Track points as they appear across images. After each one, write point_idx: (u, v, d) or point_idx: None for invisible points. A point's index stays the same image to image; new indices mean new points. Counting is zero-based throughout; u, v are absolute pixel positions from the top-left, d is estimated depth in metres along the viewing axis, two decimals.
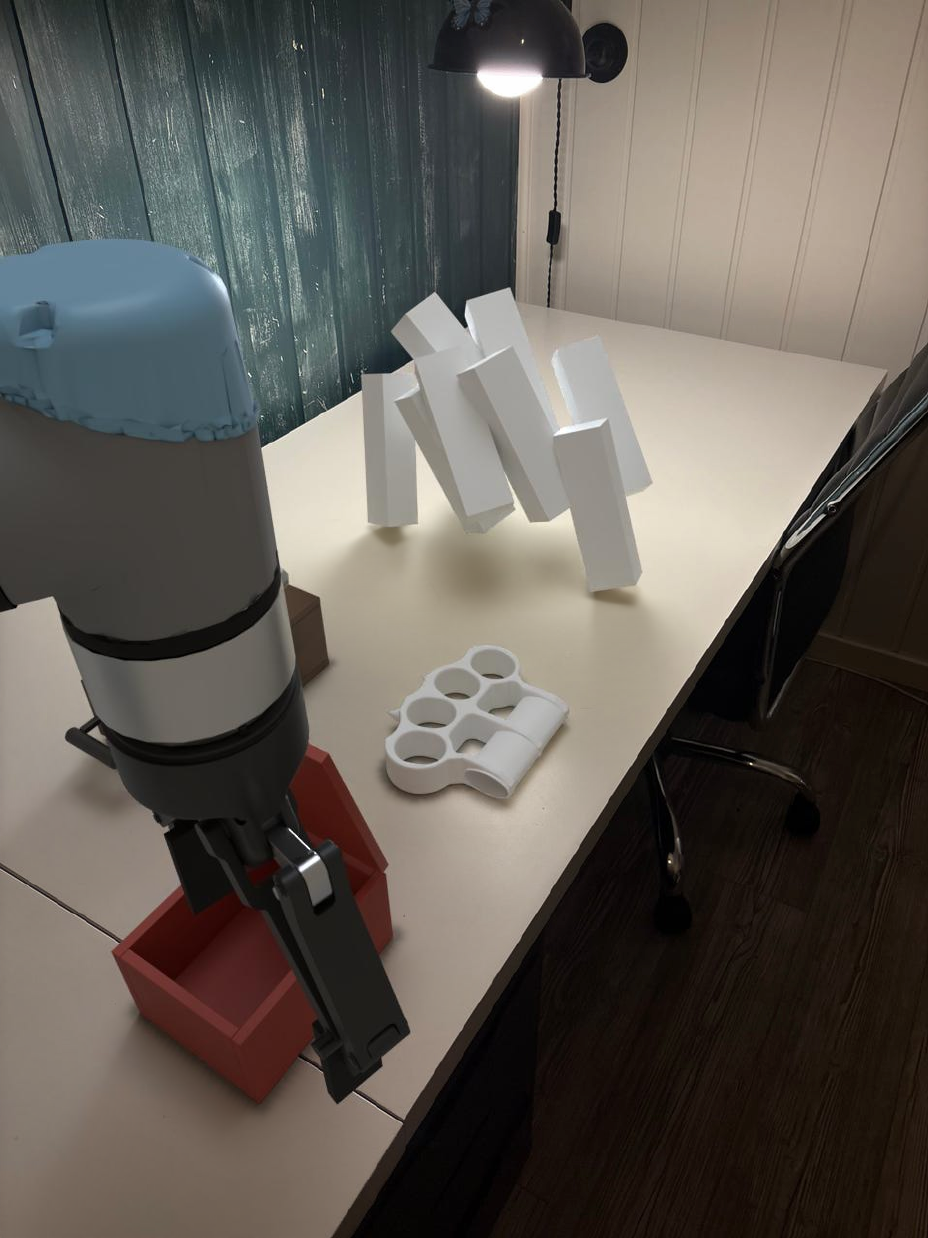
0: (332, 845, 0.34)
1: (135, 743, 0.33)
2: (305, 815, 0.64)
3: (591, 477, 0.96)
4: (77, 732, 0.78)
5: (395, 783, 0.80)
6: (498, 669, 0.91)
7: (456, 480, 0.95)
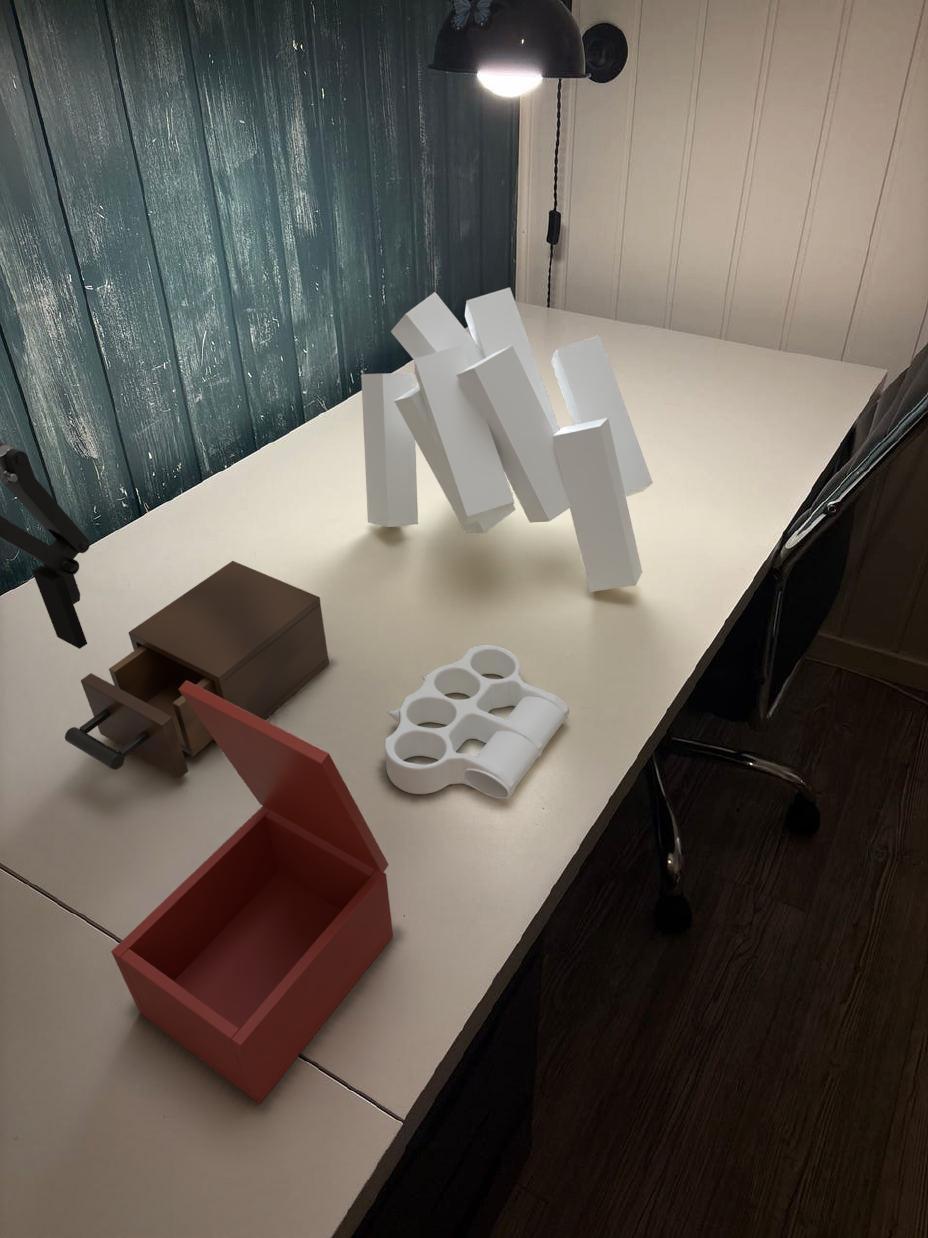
0: None
1: None
2: (305, 815, 0.64)
3: (591, 477, 0.96)
4: (77, 732, 0.78)
5: (395, 783, 0.80)
6: (498, 669, 0.91)
7: (456, 480, 0.95)
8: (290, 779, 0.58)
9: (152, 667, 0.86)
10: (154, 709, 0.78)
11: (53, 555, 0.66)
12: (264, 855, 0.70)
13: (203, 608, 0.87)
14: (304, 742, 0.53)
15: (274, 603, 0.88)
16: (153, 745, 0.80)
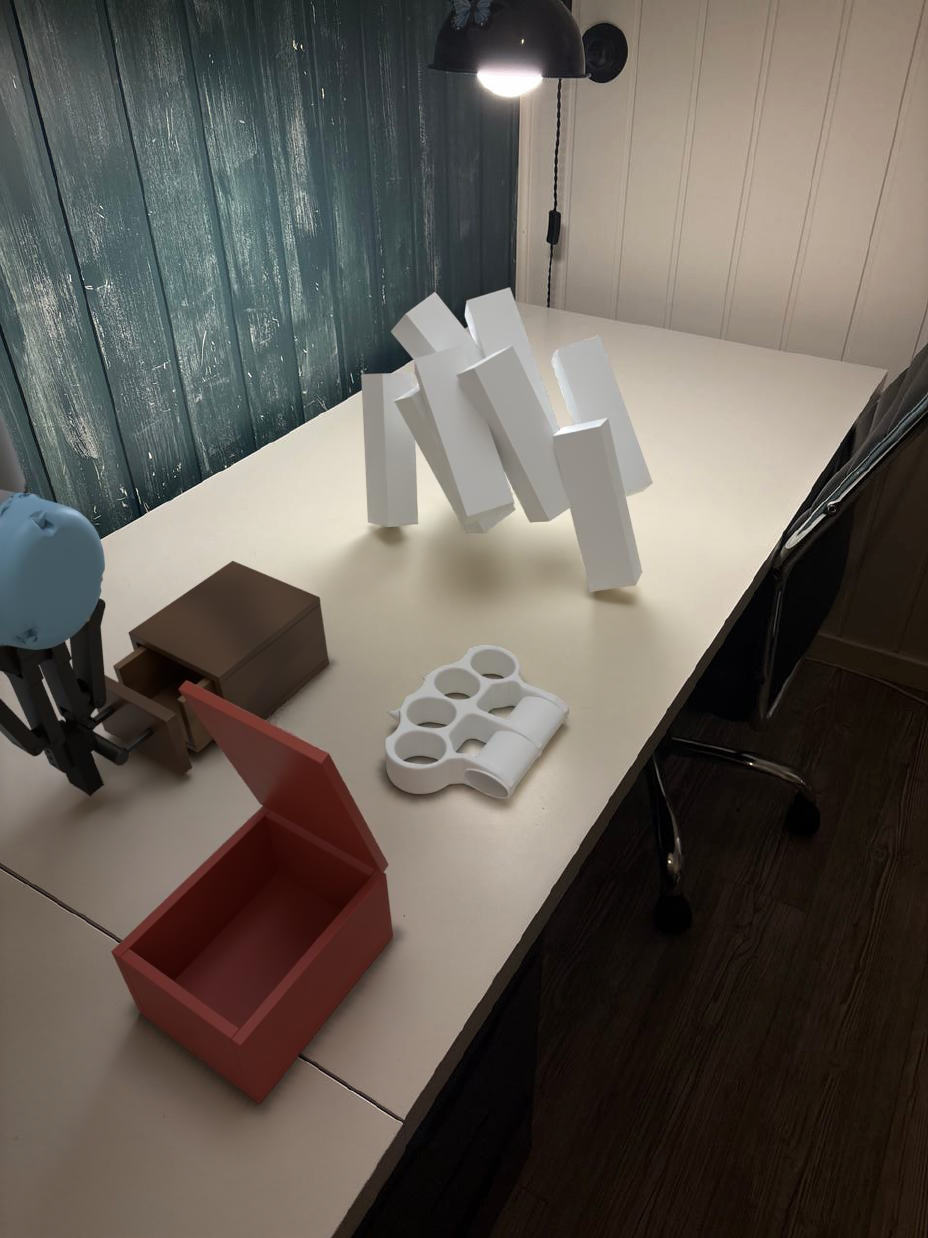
0: None
1: None
2: (305, 815, 0.64)
3: (591, 477, 0.96)
4: None
5: (395, 783, 0.80)
6: (498, 668, 0.91)
7: (456, 480, 0.95)
8: (290, 779, 0.58)
9: (156, 664, 0.86)
10: (158, 706, 0.78)
11: (81, 708, 0.74)
12: (264, 855, 0.70)
13: (203, 608, 0.87)
14: (304, 742, 0.53)
15: (274, 603, 0.88)
16: (157, 742, 0.80)
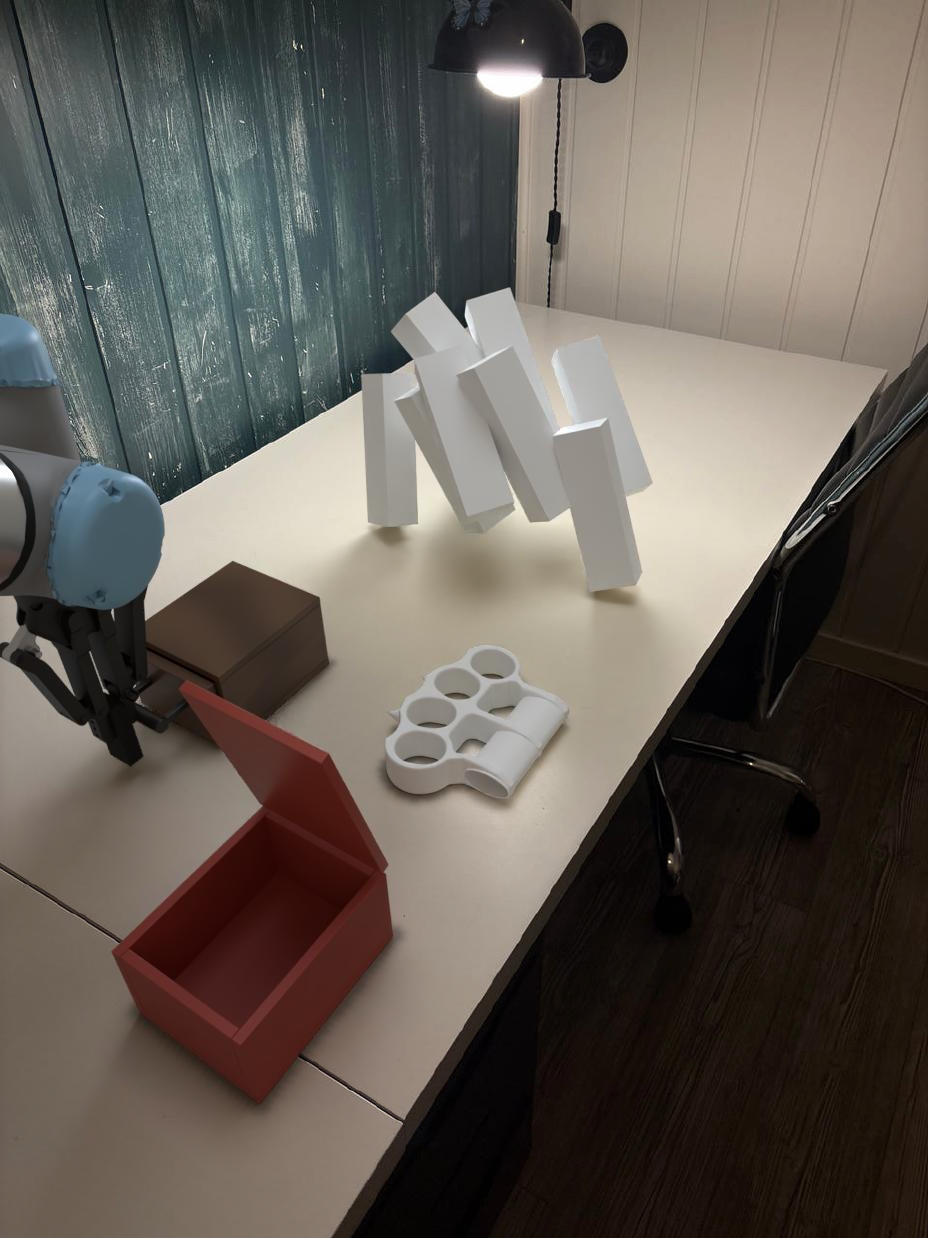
0: (15, 659, 0.67)
1: None
2: (305, 815, 0.64)
3: (591, 477, 0.96)
4: None
5: (395, 783, 0.80)
6: (498, 669, 0.91)
7: (456, 480, 0.95)
8: (290, 779, 0.58)
9: None
10: (197, 676, 0.81)
11: (124, 680, 0.77)
12: (264, 855, 0.70)
13: (203, 608, 0.87)
14: (304, 742, 0.53)
15: (274, 603, 0.88)
16: None
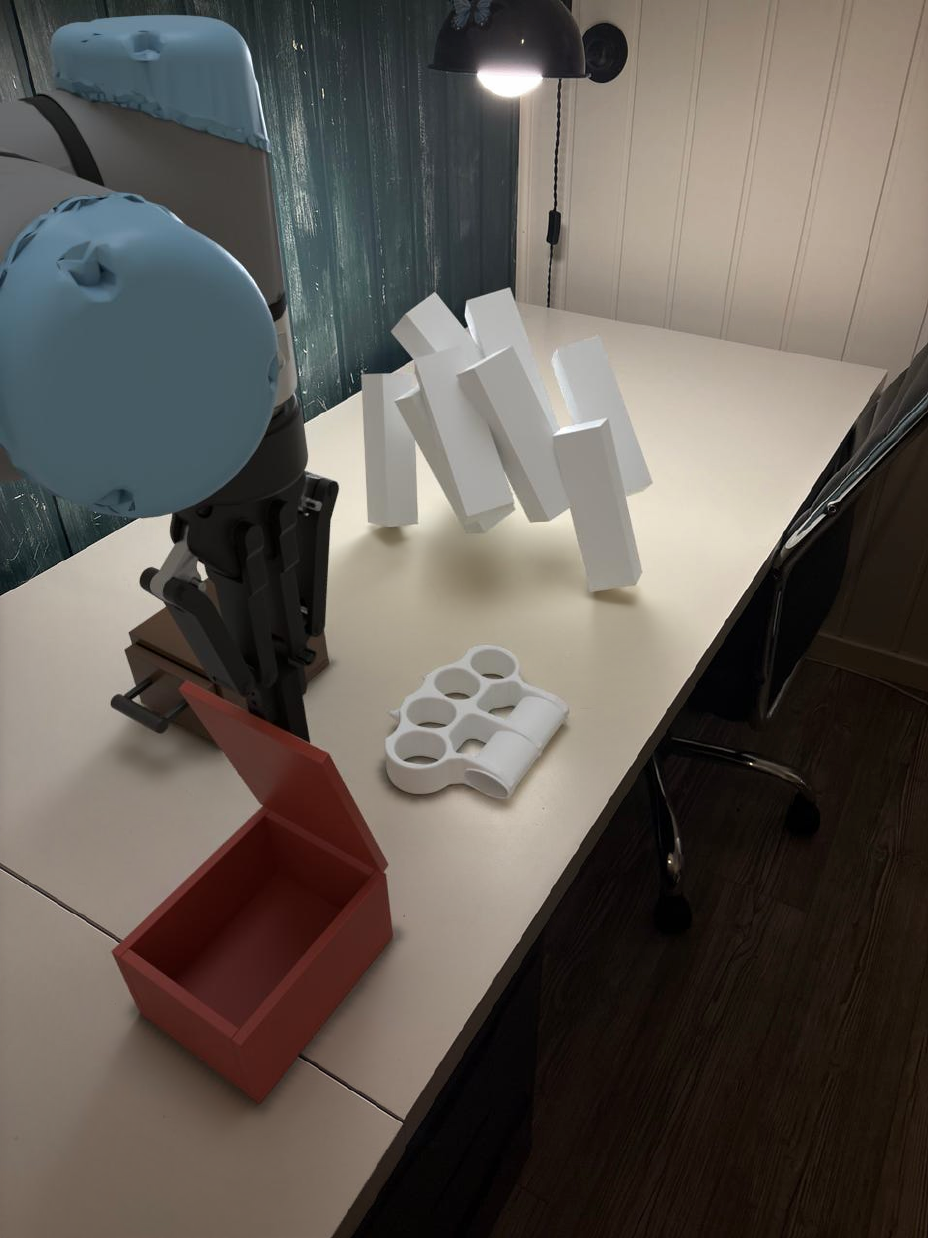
0: (173, 590, 0.44)
1: None
2: (305, 815, 0.64)
3: (591, 477, 0.96)
4: (122, 698, 0.82)
5: (395, 783, 0.80)
6: (498, 669, 0.91)
7: (456, 480, 0.95)
8: (290, 779, 0.58)
9: None
10: (197, 676, 0.81)
11: (298, 634, 0.54)
12: (264, 855, 0.70)
13: None
14: (304, 742, 0.53)
15: None
16: None
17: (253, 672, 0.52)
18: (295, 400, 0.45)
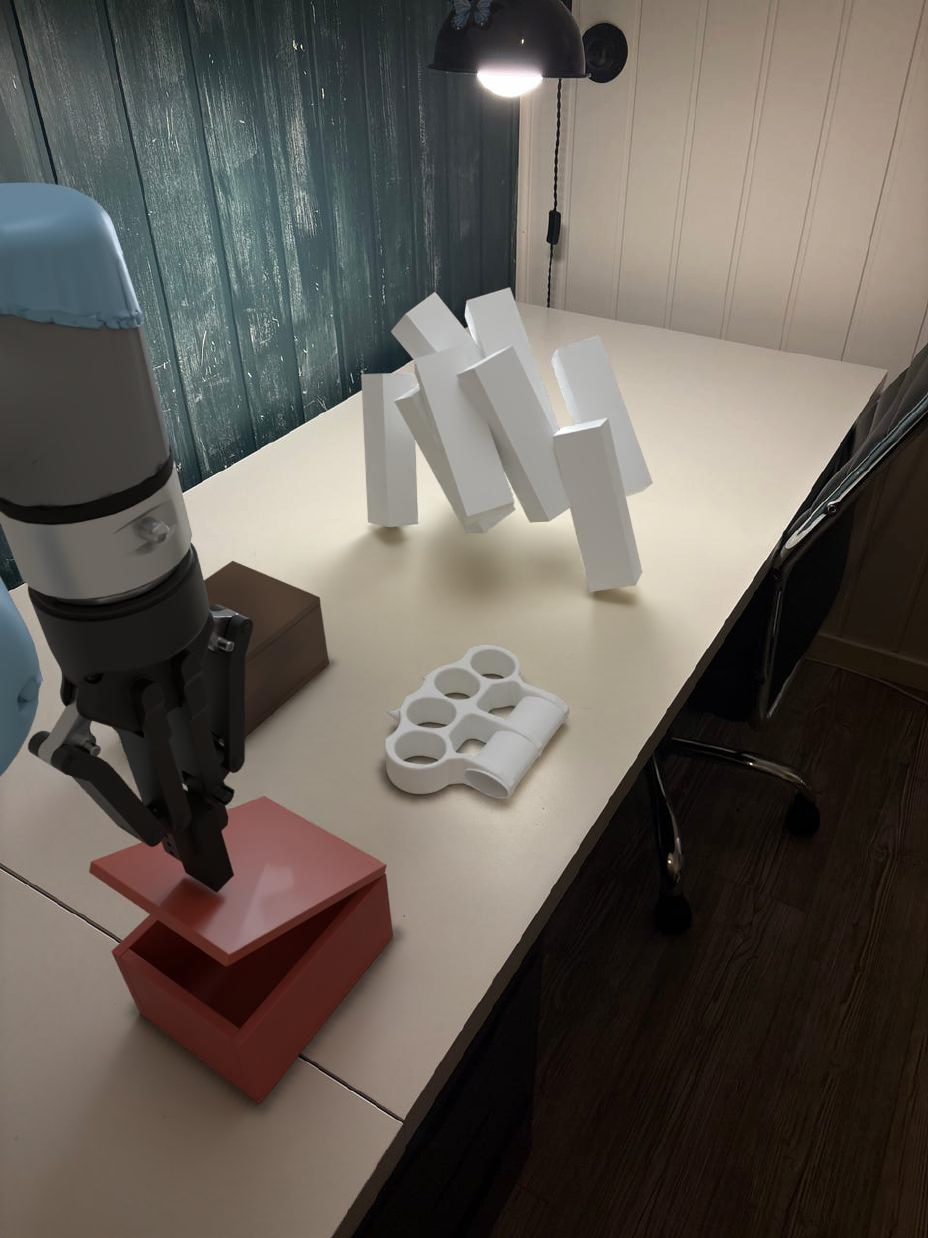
0: (60, 761, 0.42)
1: None
2: None
3: (591, 477, 0.96)
4: None
5: (395, 783, 0.80)
6: (498, 668, 0.91)
7: (456, 480, 0.95)
8: None
9: None
10: None
11: (214, 773, 0.52)
12: None
13: None
14: (205, 942, 0.51)
15: (274, 603, 0.88)
16: None
17: (163, 818, 0.50)
18: (190, 557, 0.42)
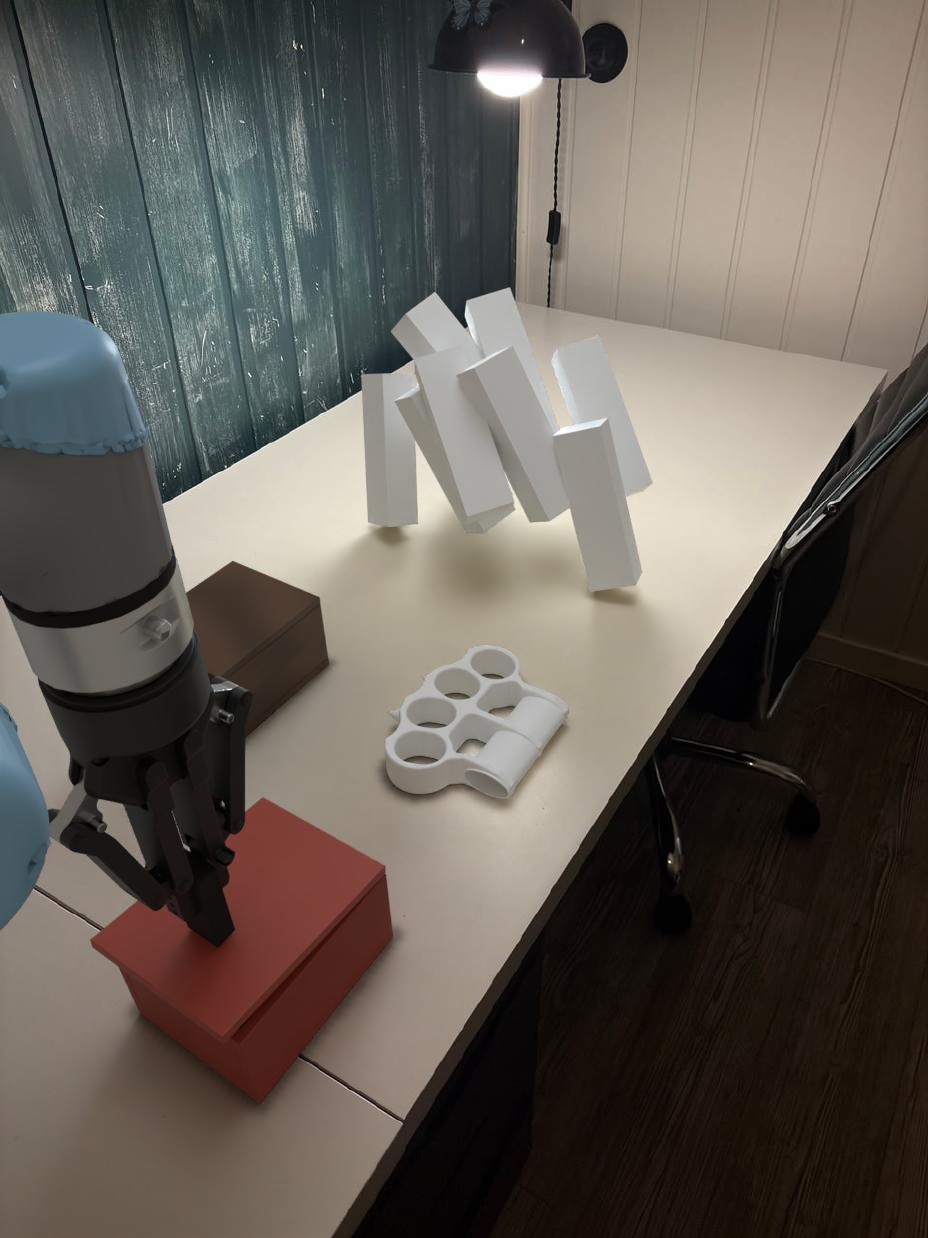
0: (69, 840, 0.44)
1: None
2: None
3: (591, 477, 0.96)
4: None
5: (395, 783, 0.80)
6: (498, 669, 0.91)
7: (456, 480, 0.95)
8: None
9: None
10: None
11: (215, 837, 0.54)
12: None
13: (203, 608, 0.87)
14: (200, 1022, 0.54)
15: (274, 603, 0.88)
16: None
17: (167, 882, 0.52)
18: (192, 645, 0.44)
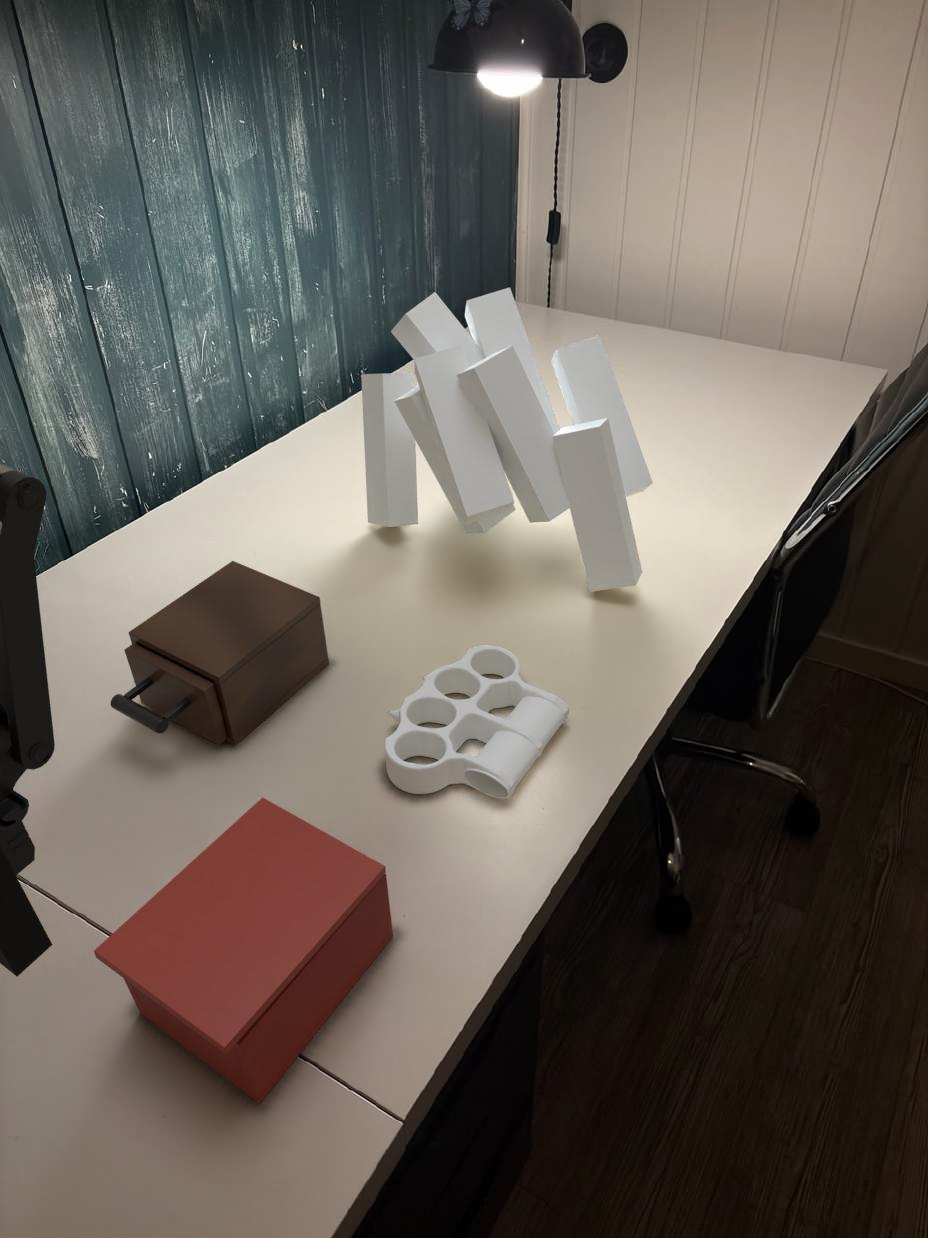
0: None
1: None
2: None
3: (591, 477, 0.96)
4: (122, 698, 0.82)
5: (395, 783, 0.80)
6: (498, 669, 0.91)
7: (456, 480, 0.95)
8: None
9: None
10: (197, 676, 0.81)
11: None
12: None
13: (203, 608, 0.87)
14: (203, 1033, 0.54)
15: (274, 603, 0.88)
16: (195, 712, 0.83)
17: None
18: None
